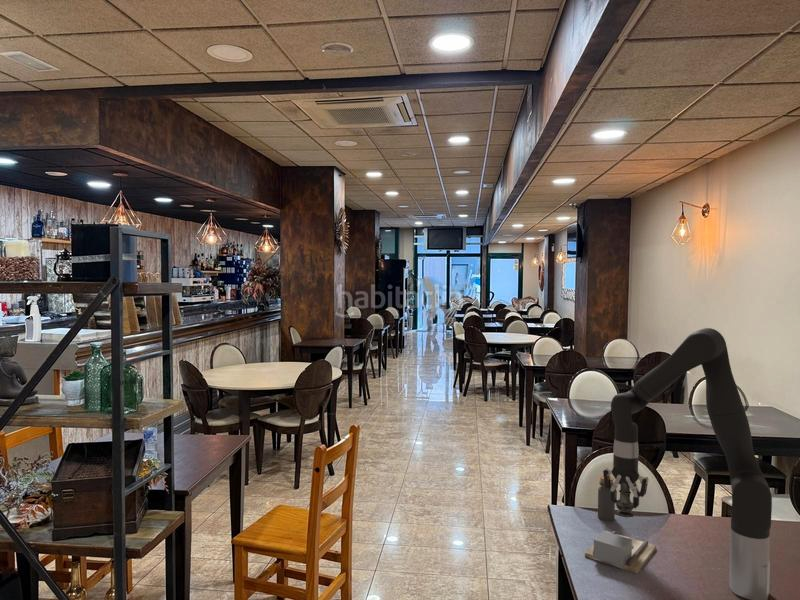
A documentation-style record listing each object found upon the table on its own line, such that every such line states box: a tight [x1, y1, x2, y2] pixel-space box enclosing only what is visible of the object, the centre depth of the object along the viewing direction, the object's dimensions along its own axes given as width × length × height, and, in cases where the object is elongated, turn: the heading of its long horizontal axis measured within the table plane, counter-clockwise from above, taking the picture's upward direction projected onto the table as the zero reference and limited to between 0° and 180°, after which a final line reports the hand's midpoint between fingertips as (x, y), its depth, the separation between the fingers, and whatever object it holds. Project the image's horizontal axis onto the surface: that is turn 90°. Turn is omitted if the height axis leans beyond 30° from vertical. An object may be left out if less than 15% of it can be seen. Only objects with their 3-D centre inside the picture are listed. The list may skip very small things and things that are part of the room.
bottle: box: [597, 475, 616, 522], centre depth 203 cm, size 6×6×15 cm
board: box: [584, 530, 657, 574], centre depth 177 cm, size 16×20×2 cm
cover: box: [593, 530, 633, 567], centre depth 170 cm, size 9×8×6 cm
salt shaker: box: [615, 483, 634, 519], centre depth 179 cm, size 6×6×12 cm
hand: (624, 504), depth 179 cm, fingers closed on salt shaker, 6 cm apart
